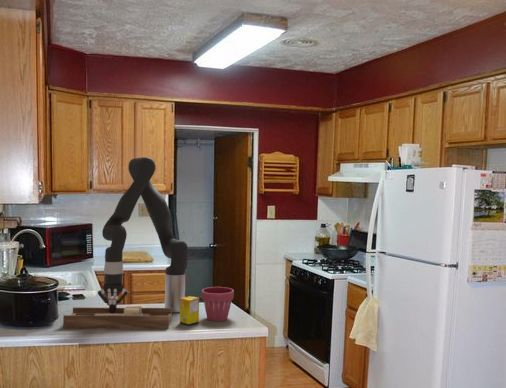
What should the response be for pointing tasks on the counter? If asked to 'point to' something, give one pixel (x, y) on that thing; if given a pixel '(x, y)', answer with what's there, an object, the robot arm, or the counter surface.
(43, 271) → the counter surface
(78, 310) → the walnut track
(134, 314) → the maple block
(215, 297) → the plant pot
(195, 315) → the supplement box
